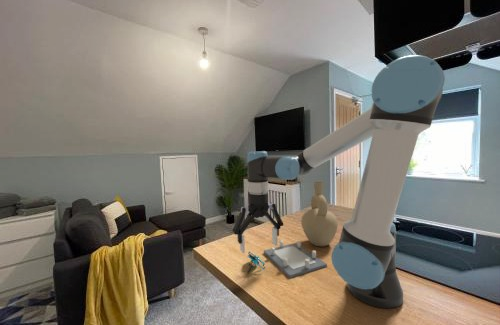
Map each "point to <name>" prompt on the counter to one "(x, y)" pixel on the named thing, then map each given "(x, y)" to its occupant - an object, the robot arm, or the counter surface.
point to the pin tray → (294, 259)
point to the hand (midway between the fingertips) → (259, 247)
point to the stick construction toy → (254, 262)
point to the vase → (319, 219)
